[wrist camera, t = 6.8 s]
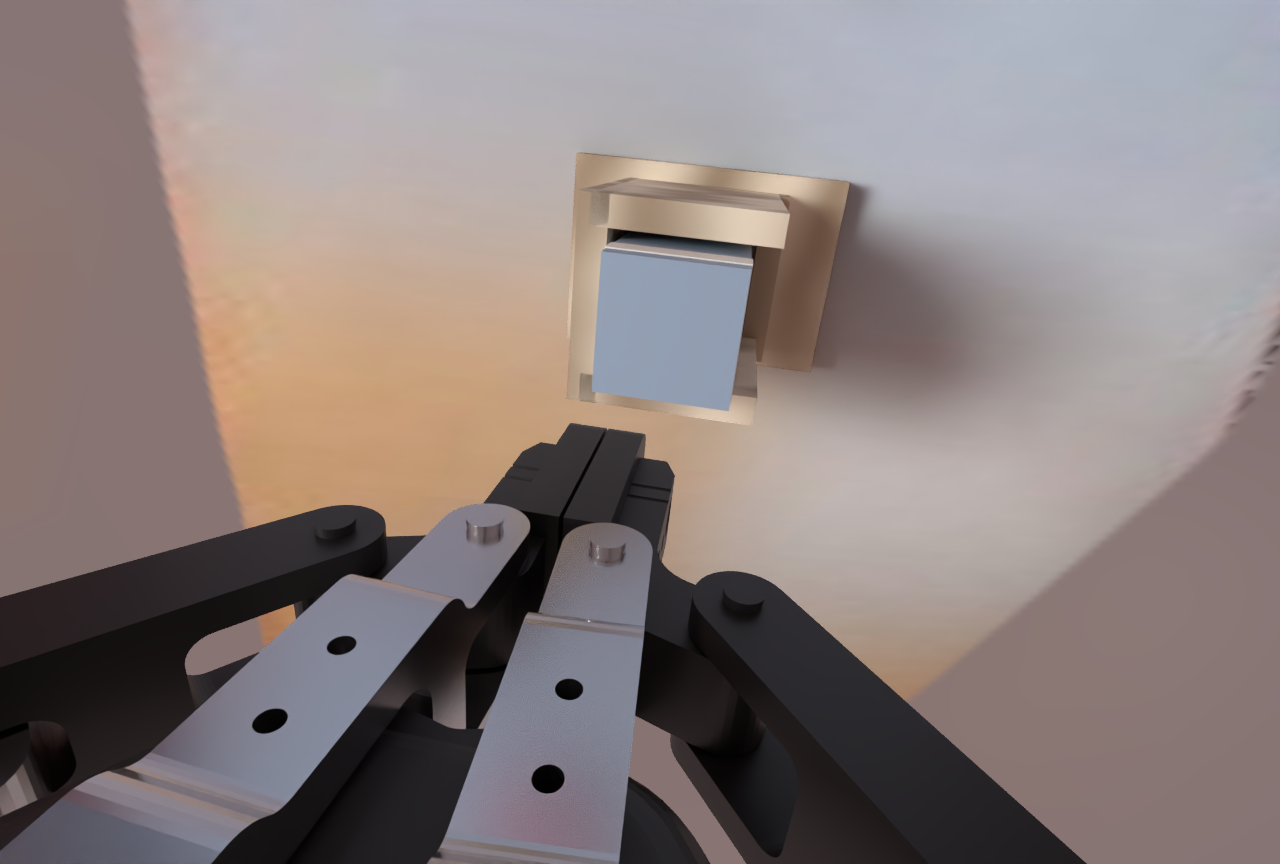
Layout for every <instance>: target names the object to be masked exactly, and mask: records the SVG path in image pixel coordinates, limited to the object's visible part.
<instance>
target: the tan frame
mask: <svg viewBox="0 0 1280 864" xmlns="http://www.w3.org/2000/svg"><path fill="white" fill-rule="evenodd" d="M849 185H850V182H847V181H839V180H830V179H820V178H811V177H802V176H793V175H783V174H774V173H765V172H756V171H746V170H737V169H728V168H719V167H709V166H700V165H691V164H681V163H672V162H663V161H654V160H644V159H635V158H626V157H617V156H607V155H598V154H589V153H576V171H575V190H574V209H573V228H572V247H571V266H570V285H569V304H568V323H567V339H570V346H569V364H568V383H567V399H572V400H579V401H586V402H592V403H599V404H606V405H613V406H620V407H626V408H633V409H640V410H647V411H654V412H661V413H667V414H674V415H681V416H688V417H695V418H701V419H708V420H715V421H722V422H729V423H736V424H742V425H749V426H752V424H753V419H754V413H755V408H756V402H757V370H756V365H762V366H769V367H776V368H783V369H791V370H798V371H805V372H810V371H811V366H812V361H813V356H814V352H815V347H816V342H817V337H818V333H819V328H820V323H821V318H822V313H823V309H824V304H825V299H826V294H827V290H828V285H829V280H830V275H831V271H832V266H833V261H834V256H835V251H836V247H837V242H838V237H839V232H840V228H841V223H842V218H843V213H844V208H845V204H846V199H847V194H848V189H849ZM630 231H638V232H647V233H655V234H663V235H672V236H680V237H689V238H697V239H705V240H714V241H722V242H730V243H739V244H747V245H752V259H753V269H752V275H751V282H750V288H749V294H748V300H747V306H746V313H745V319H744V325H743V331H742V337H741V343H740V350H739V356H738V362H737V368H736V374H735V381H734V387H733V393H732V399H731V405H730V407H729V411H723V410H716V409H709V408H702V407H695V406H689V405H682V404H675V403H668V402H661V401H654V400H647V399H640V398H633V397H626V396H620V395H613V394H606V393H599V392H592V378H593V363H594V349H595V335H596V321H597V306H598V292H599V278H600V264H601V251H602V250H604V249H605V246H606V245H607V244H609V243H610V242H615V241H617V240H618V239H620V238H621V237H623V236H624V235H626V234H627V233H628V232H630Z"/></svg>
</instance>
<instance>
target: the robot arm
mask: <svg viewBox="0 0 1280 864" xmlns="http://www.w3.org/2000/svg"><path fill="white" fill-rule="evenodd" d="M645 440H646V437H645V434H641V433H634V432H628V431H621V430H614V429H608V431H607V428H600V427H594V426H587V425H581V424H574V423H570V424H569V426H568V427H567V429H566V430H565V432H564V433H563V435H562V436H561V438H560V439H559V441H558V442H557V444H556V445H555V444H548V443H542V442H541V443H539V444H537V445H535V446H533V447H531V448H529V449H527V450H525V451H523V452H522V453H521V454H520V456H519V457H518V458H517V460H516V461H515V462H514V464H513V467H511V468H510V469H509V470H508V472H507V473H506V474H505V477H503V478H502V480H501V481H500V482H499V483H498V485H497V486H496V487H495V489H494V490H493V491H492V493H491V494H490V495H489V497H488V498H487V499H486V501H485V502H484V503H483V504H474V505H469V506H465V507H462V508H459V509H457V510H454V511H452V512H451V513H449V514H448V515H446V516H445V517H444V518H443V519H442V520H441V521H440V522H439V523H438V524H437V525H436V526H435V527H434V528H433V529H432V530H431V531H430V532H429V533H428V534H427V535H425V536H394V537H386V525H385V520H384V518H383V517H382V515H380V514H379V513H378V512H376V511H374V510H372V509H369V508H366V507H362V506H354V505H339V506H330V507H325V508H321V509H317V510H313V511H309V512H306V513H302V514H299V515H295V516H291V517H288V518H284V519H281V520H277V521H274V522H270V523H266V524H263V525H259V526H256V527H252V528H248V529H245V530H241V531H238V532H234V533H230V534H227V535H224V536H220V537H216V538H213V539H209V540H205V541H202V542H198V543H195V544H191V545H188V546H184V547H180V548H177V549H173V550H169V551H166V552H162V553H159V554H155V555H151V556H148V557H144V558H141V559H137V560H134V561H130V562H126V563H123V564H119V565H116V566H112V567H108V568H105V569H101V570H98V571H94V572H91V573H87V574H83V575H80V576H76V577H73V578H69V579H66V580H62V581H58V582H55V583H51V584H47V585H44V586H40V587H37V588H33V589H30V590H26V591H22V592H19V593H16V594H12V595H8V596H4V597H1V598H0V864H710V863H709V861H708V859H707V857H706V855H705V854H704V852H703V850H702V849H701V847H700V845H699V844H698V842H697V841H696V839H695V838H694V836H693V835H692V834H691V832H690V831H689V830H688V828H687V827H686V826H685V824H684V823H683V822H682V821H681V819H680V818H679V817H678V816H677V815H676V814H675V813H674V812H673V811H672V810H671V809H670V808H669V807H668V806H667V804H666V803H664V801H663V800H661V799H660V798H659V797H658V796H656V795H655V794H654V793H653V792H651V791H650V790H649V789H648V788H646V787H645V786H643V785H642V784H640V783H638V782H637V781H635V780H633V779H632V778H630V777H629V776H628V775H629V765H630V757H631V748H632V738H633V730H634V720H635V716H637V717H639V718H641V719H643V720H645V721H647V722H649V723H651V724H653V725H655V726H657V727H659V728H661V729H662V730H664V731H666V732H668V733H670V734H671V737H670V743H671V749H672V752H673V754H674V756H675V758H676V760H677V761H678V763H679V764H680V766H681V767H682V769H683V770H684V772H685V773H686V775H687V776H688V778H689V779H690V781H691V782H692V784H693V785H694V786H695V788H696V789H697V791H698V792H699V794H700V795H701V797H702V798H703V800H704V801H705V803H706V804H707V806H708V807H709V809H710V810H711V812H712V813H713V814H714V816H715V818H716V819H717V820H718V822H719V823H720V825H721V826H722V828H723V829H724V831H725V832H726V834H727V835H728V837H729V838H730V840H731V841H732V843H733V844H734V846H735V847H736V849H737V850H738V852H739V853H740V855H741V856H742V857H743V859H744V861H745V862H746V863H747V864H1086V863H1085V862H1084V861H1083V860H1082V859H1081V858H1080V857H1079V856H1077V855H1076V854H1075V853H1074V852H1073V851H1072V850H1071V849H1069V848H1068V847H1067V846H1066V845H1065V844H1064V843H1063V842H1062V841H1061V840H1060V839H1058V838H1057V837H1056V836H1055V835H1054V834H1053V833H1052V832H1051V831H1049V830H1048V829H1047V828H1046V827H1045V826H1044V825H1043V824H1042V823H1041V822H1040V821H1038V820H1037V819H1036V818H1035V817H1034V816H1033V815H1032V814H1030V813H1029V812H1028V811H1027V810H1026V809H1025V808H1024V807H1023V806H1022V805H1021V804H1019V803H1018V802H1017V801H1016V800H1015V799H1014V798H1013V797H1011V795H1009V794H1008V793H1007V792H1006V791H1005V790H1004V789H1003V788H1002V787H1000V786H999V785H998V784H997V783H996V782H995V781H994V780H993V779H992V778H990V777H989V776H988V775H987V774H986V773H985V772H984V771H983V770H981V769H980V768H979V767H978V766H977V765H976V764H975V763H973V761H971V760H970V759H969V758H968V757H967V756H966V755H965V754H964V753H962V752H961V751H960V750H959V749H958V748H957V747H956V746H955V745H953V744H952V743H951V742H950V741H949V740H948V739H947V738H946V737H945V736H944V735H942V734H941V733H940V732H939V731H938V730H937V729H936V728H935V727H934V726H932V725H931V724H930V723H929V722H928V721H927V720H926V719H925V718H923V717H922V716H921V715H920V714H919V713H918V712H917V711H916V710H915V709H913V708H912V707H911V706H910V705H909V704H908V703H907V702H906V701H904V700H903V699H902V698H901V697H900V696H899V695H898V694H897V693H896V692H894V691H893V690H892V689H891V688H890V687H889V686H888V685H887V684H886V683H884V682H883V681H882V680H881V679H880V678H879V677H878V676H877V675H875V674H874V673H873V672H872V671H871V670H870V669H869V668H868V667H867V666H865V665H864V664H863V663H862V662H861V661H860V660H859V659H858V658H856V657H855V656H854V655H853V654H852V653H851V652H850V651H849V650H848V649H846V648H845V647H844V646H843V645H842V644H841V643H840V642H839V641H838V640H836V639H835V638H834V637H833V636H832V635H831V634H830V633H829V632H827V631H826V630H825V629H824V628H823V627H822V626H821V625H820V624H819V623H817V622H816V621H815V620H814V619H813V618H812V617H811V616H810V615H809V614H807V613H806V612H805V611H804V610H803V609H802V608H801V607H800V606H798V605H797V604H796V603H795V602H794V601H793V600H792V599H791V598H790V597H788V596H787V595H786V594H785V593H784V592H783V591H782V590H781V589H779V588H778V587H777V586H776V585H774V584H772V583H771V582H769V581H767V580H765V579H763V578H761V577H758V576H755V575H752V574H748V573H744V572H737V571H724V572H717V573H713V574H710V575H707V576H706V577H704V578H702V579H701V580H700V581H699V582H698V583H697V584H696V585H694V584H692V583H689V582H687V581H685V580H683V579H681V578H679V577H677V576H676V575H674V574H673V573H672V572H670V571H669V570H668V569H667V568H666V567H665V566H664V565H663V563H662V557H663V553H664V549H665V544H666V538H667V531H668V523H669V516H670V508H671V500H672V493H673V485H674V477H675V475H674V473H673V472H672V470H671V468H670V466H669V464H668V463H667V462H665V461H659V460H652V459H646V458H644V452H645ZM292 604H294V608H295V615H296V620H295V621H294V622H293V623H291V624H290V625H289V626H288V627H287V628H286V629H285V630H284V631H283V632H282V633H280V634H279V635H278V636H277V637H276V638H275V639H274V640H273V641H272V642H271V643H269V644H268V645H267V646H266V647H265V648H264V649H263V650H262V651H261V652H259V653H256V654H253V655H251V656H248V657H246V658H243V659H241V660H238V661H236V662H233V663H231V664H228V665H225V666H223V667H220V668H218V669H215V670H213V671H210V672H207V673H205V674H201V675H187V674H186V669H185V658H186V655H187V653H188V652H189V650H190V649H191V648H192V646H193V645H194V644H195V643H197V642H198V641H199V640H200V639H201V638H203V637H205V636H207V635H209V634H211V633H214V632H216V631H219V630H222V629H225V628H228V627H230V626H233V625H236V624H238V623H241V622H244V621H247V620H250V619H252V618H255V617H258V616H261V615H264V614H267V613H269V612H272V611H275V610H278V609H280V608H283V607H286V606H289V605H292Z"/></svg>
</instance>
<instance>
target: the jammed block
mask: <svg viewBox="0 0 1280 864" xmlns="http://www.w3.org/2000/svg"><path fill="white" fill-rule="evenodd" d="M752 269H753V259H752V245H747V244H739V243H730V242H722V241H714V240H705V239H697V238H689V237H680V236H672V235H663V234H655V233H647V232H638V231H630V232H628V233H627V234H626V235H624V236H623V237H621V238H620V239H618V240H617V241H615V242H610V243H609V244H607V245H606V246H605V249H604V250H602V251H601V264H600V278H599V292H598V306H597V321H596V335H595V349H594V363H593V378H592V392H599V393H606V394H613V395H620V396H626V397H633V398H640V399H647V400H654V401H661V402H668V403H675V404H682V405H689V406H695V407H702V408H709V409H716V410H723V411H729V407H730V405H731V399H732V393H733V387H734V381H735V374H736V368H737V362H738V356H739V350H740V343H741V337H742V331H743V325H744V319H745V313H746V306H747V300H748V294H749V288H750V282H751V275H752Z"/></svg>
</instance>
